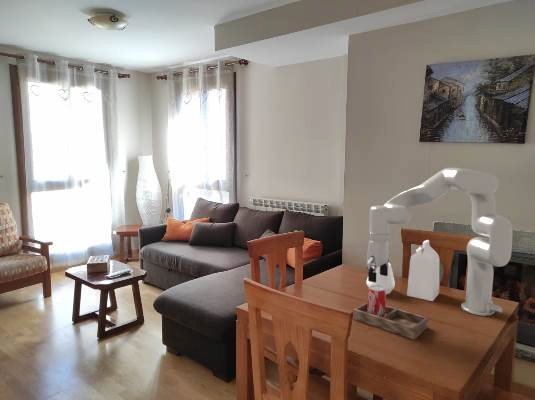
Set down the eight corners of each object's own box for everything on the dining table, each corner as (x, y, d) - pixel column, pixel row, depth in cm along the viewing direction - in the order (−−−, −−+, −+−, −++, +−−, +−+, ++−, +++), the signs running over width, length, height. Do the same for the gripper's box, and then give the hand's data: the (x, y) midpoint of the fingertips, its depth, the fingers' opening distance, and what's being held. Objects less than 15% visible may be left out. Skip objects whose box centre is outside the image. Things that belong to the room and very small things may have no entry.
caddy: (427, 327, 147) (428, 317, 147) (414, 339, 138) (414, 329, 137) (368, 309, 164) (369, 300, 164) (353, 318, 155) (353, 309, 154)
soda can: (385, 320, 151) (387, 291, 149) (367, 319, 152) (368, 290, 151) (384, 313, 158) (385, 285, 156) (366, 311, 159) (367, 284, 157)
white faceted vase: (390, 298, 176) (392, 269, 175) (362, 292, 183) (363, 264, 182) (397, 289, 188) (398, 262, 186) (370, 284, 195) (371, 258, 193)
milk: (432, 301, 173) (435, 245, 170) (406, 295, 180) (409, 241, 177) (439, 293, 183) (442, 240, 179) (414, 288, 189) (417, 237, 186)
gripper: (380, 231, 159) (379, 271, 162) (359, 239, 147) (358, 282, 149) (397, 234, 154) (396, 275, 157) (377, 242, 142) (376, 286, 144)
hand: (378, 278), depth 153 cm, fingers open, 9 cm apart
